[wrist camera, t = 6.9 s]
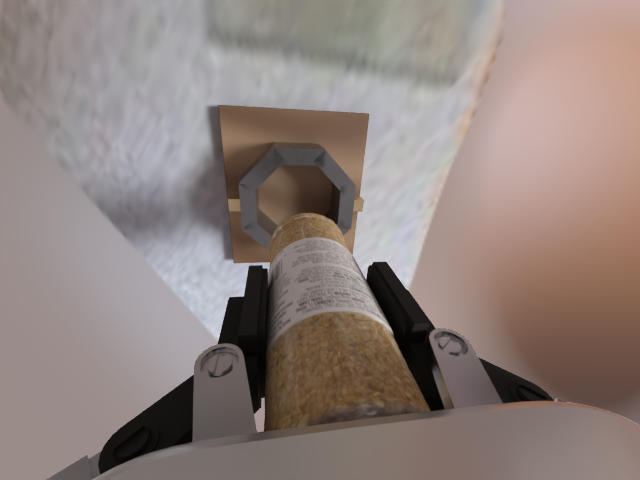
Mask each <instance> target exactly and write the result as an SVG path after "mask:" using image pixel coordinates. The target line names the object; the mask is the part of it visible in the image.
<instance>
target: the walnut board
mask: <svg viewBox="0 0 640 480" xmlns="http://www.w3.org/2000/svg"><path fill="white" fill-rule="evenodd" d="M219 115H220V125H221V135H222V146H223V156H224V167H225V177H226V188H227V198H229V196H230V195H239V182H240V179H241V177H242V175H243V173H244V172H245V171H246V170H247V169H248V168H249V167H250V166H251V165H252V164H253V163H254V162H255V161H256V160H257V159H258V158H259V157H260V156H261V155H262V154H263V153H264V152H265V151H266V150H267V149H268V147H269V146H270V145H271V144H272V143H273V142H291V143H317V144H320V145H321V146H322V147H323V148H324V149H325V150H326V151H327V152H328V153H329V154H330V156H331V157H332V158H333V159H334V160H335V161H336V163H337V164H338V165H339V166H340V167H341V168H342V170H343V171H344V172H345V173H346V174H347V175H348V177H349V178H350V179H351V180H352V181H353V183H354V184H355V185H356V190H355V197H359V196H360V187H361V179H362V171H363V162H364V154H365V146H366V137H367V129H368V121H369V114H365V113H348V112H330V111H313V110H296V109H278V108H261V107H244V106H227V105H219ZM258 191H259V209H260V210H261V211H262V212H263V213H264V214H265V215H267V216H268V217H269V218H270V219H271V220H272V221H273V222H274V223H276V224H277V225H279V224H280V223H282V222H283V221H284V220H286V219H287V218H290V217H292V216H294V215H297V214H301V213H315V214H319V215H322V216H323V215H324V214H326V213H327V212H328V211H329V210H330V207H331V194H332V181H331V180H330V179H329V178H328V177H327V176H326V175H325V173H324V172H323V171H322V170H321V169H320V168H319V167H318V166H299V165H281V166H280V167H279V168H278V169H276V170H275V171H274V172H273V173H272V174H271V175H270V176H269V177H268V178H267V179H266V180H265V181H264V182H263V183H262V184H261V185H260V186H259V187H258ZM228 208H229V205H228ZM357 212H358V211H353V217H352V226H351V229H350V230H349V231H348V232H347V233H346V234H344V235H343V237H344V241H345V244H346V246H347V248H348V250H349V252H350V253H351V254H353V246H354V237H355V229H356V221H357ZM229 219H230V229H231V240H232V250H233V260H234V263H256V262H270V258H269V251H267V250H266V249H265V248H264V247H263V246H261V245H260V244H259V243H258V242H256V241H255V240H254V239H253V238H252V237H250V236H249V235H248V234H247V233H245V232H244V231H243V230H242V223H241V211H229Z"/></svg>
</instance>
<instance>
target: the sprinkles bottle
mask: <svg viewBox="0 0 640 480" xmlns="http://www.w3.org/2000/svg"><path fill="white" fill-rule="evenodd" d="M268 248H269V258H270V269H269V273H268V305H267V331H266V357H265V360H266V368H265V373H266V379H265V381H266V384H265V424H264V426H265V427H264V432H265V431H273V430H281V429H289V428H297V427H305V426H313V425H321V424H329V423H337V422H345V421H353V420H362V419H370V418H378V417H386V416H395V415H403V414H412V413H420V412H429V411H431V410H430V408H429V406H428V404H427V403H426V401H425V399H424V397H423V395H422V393H421V391H420V389H419V386H418V385H417V383H416V381H415V379H414V377H413V376H412V374H411V371H410V370H409V369H408V366H407V363H406V361H405V359H404V358H403V356H402V353H401V352H400V350H399V347H398V345H397V342H396V341H395V339H394V334H393V331H392V329H391V327H390V325H389V323H388V321H387V319H386V317H385V315H384V314H383V312H382V310H381V308H380V306H379V304H378V302H377V300H376V298H375V296H374V294H373V293H372V291H371V289H370V287H369V285H368V283H367V281H366V279H365V278H364V276H363V274H362V272H361V270H360V268H359V266H358V264H357V262H356V260H355V259H354V257H353V255H352V254H351V253H350V252H349V250H348V248H347V246H346V244H345V241H344V237H343V235H342V232H341V231H340V229H339V228H338V227H337V225H336V224H335V223H334V222H333V221H332V220H331V219H329V218H326V217H325V216H322V215H319V214H315V213H301V214H297V215H294V216H292V217H290V218H287V219H286V220H284V221H283V222H282V223H280V224H279V225H278V226H277V227H276V229H275V231H274V232H273V234H272V236H271V239H270V242H269V246H268Z"/></svg>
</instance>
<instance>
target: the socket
mask: <svg viewBox="0 0 640 480" xmlns="http://www.w3.org/2000/svg"><path fill="white" fill-rule="evenodd" d="M281 165H299V166H318V167H319V168H320V169H321V170H322V171H323V172H324V173H325V175H326V176H327V177H328V178H329V179H330V180H331V181H332V194H331V207H330V210H329V211H328V212H327V213H326V214H324V215H323V216H325V217H326V218H329V219H331V220H332V221H333V222H334V223H335V224H336V225H337V227H338V228H339V229H340V231H341V232H342V235H344V234H346V233H347V232H348V231H349V230H350V229H351V226H352V217H353V211H362V209H363V201H364V200H363V199H362V198H361V197H355V190H356V185H355V184H354V183H353V181H352V180H351V179H350V178H349V177H348V175H347V174H346V173H345V172H344V171H343V170H342V168H341V167H340V166H339V165H338V164H337V163H336V161H335V160H334V159H333V158H332V157H331V156H330V154H329V153H328V152H327V151H326V150H325V149H324V148H323V147H322V146H321V145H320V144H317V143H291V142H273V143H272V144H271V145H270V146H269V147H268V149H267V150H266V151H265V152H264V153H263V154H262V155H261V156H260V157H259V158H258V159H257V160H256V161H255V162H254V163H253V164H252V165H251V166H250V167H249V168H248V169H247V170H246V171H245V172H244V173H243V175H242V177H241V179H240V182H239V195H230V196H229V198H228V205H229V211H241V223H242V230H243V231H244V232H245V233H247V234H248V235H249V236H250V237H252V238H253V239H254V240H255V241H256V242H258V243H259V244H260V245H261V246H263V247H264V248H265V249H266V250H267V251H269V248H268V246H269V242H270V239H271V236H272V234H273V232H274V231H275V229H276V227H277V226H278V225H277V224H276V223H274V222H273V221H272V220H271V219H270V218H269V217H268V216H267V215H265V214H264V213H263V212H262V211H261V210H260V209H259V191H258V187H259V186H260V185H261V184H262V183H263V182H264V181H265V180H266V179H267V178H268V177H269V176H270V175H271V174H272V173H273V172H274V171H275V170H276V169H278V168H279V167H280V166H281Z"/></svg>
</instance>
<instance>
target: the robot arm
mask: <svg viewBox="0 0 640 480" xmlns="http://www.w3.org/2000/svg"><path fill="white" fill-rule="evenodd" d="M366 281H367V283H368V285H369V287H370V289H371V291H372V293H373V294H374V296H375V298H376V300H377V302H378V304H379V306H380V308H381V310H382V312H383V314H384V315H385V317H386V319H387V321H388V323H389V325H390V327H391V329H392V331H393V334H394V339H395V341H396V342H397V345H398V347H399V350H400V352H401V353H402V356H403V358H404V359H405V361H406V363H407V366H408V369H409V370H410V371H411V374H412V376H413V377H414V379H415V381H416V383H417V385H418V386H419V389H420V391H421V393H422V395H423V397H424V399H425V401H426V403H427V404H428V406H429V408H430V410H431V411H429V412H420V413H412V414H403V415H395V416H386V417H378V418H370V419H362V420H353V421H345V422H337V423H329V424H321V425H313V426H305V427H297V428H289V429H281V430H273V431H265V432H258V433H257V430H256V425H255V419H254V413H256V412H257V411H258V410H259V408H261V398H263V397H265V384H266V381H265V379H266V373H265V368H266V360H265V357H266V331H267V305H268V270H267V269H263V267H262V265H260V266H249V270H248V276H247V282H246V288H245V294H244V297H230V298H229V300H228V304H227V308H226V312H225V316H224V321H223V325H222V329H221V333H220V337H219V341H218V345H215V346H212V347H210V348H208V349H206V350H205V351H204V352H203V353H201V355H199V357H198V358H197V360H196V362H195V366H194V375H193V376H191V377H190V378H189V379H187V380H186V381H185V382H183V383H182V384H180V385H179V386H178V387H176V388H175V389H174V390H172V391H171V392H169V393H168V394H167V395H165V396H164V397H162V398H161V399H160V400H158V401H157V402H156V403H154V404H153V405H151V406H150V407H149V408H147V409H146V410H145V411H143V412H142V413H141V414H139V415H138V416H136V417H135V418H134V419H132V420H131V421H129V422H128V423H127V424H125V425H124V426H123V427H121V428H120V429H119V430H118V431H117V432H116V433H114V434H113V435H112V436H111V438H110V439H109V440H108V441H107V443H106V444H105V446H104V447H103V450H102V451H101V452H99V453H98V454H96V455H95V456H93V457H91V458H90V459H89V457H88V455H87V456H85V457H83V458H81V459H80V460H78V461H76V462H75V463H73V464H71V465H70V466H68V467H67V468H65V469H63V470H62V471H60V472H58V473H57V474H55V475H53V476H52V477H50V478H48V479H47V480H640V425H639V424H637V423H635V422H633V421H631V420H629V419H627V418H625V417H622V416H620V415H617V414H615V413H612V412H609V411H606V410H603V409H599V408H595V407H591V406H587V405H582V404H576V403H569V402H566V401H563V400H561V399H558V398H557V399H556V400H555V401H554V400H553V399H552V398H551V397H550V396H549V395H548V393H546V392H545V391H544V390H542V389H541V388H540V387H538V386H537V385H535V384H533V383H531V382H529V381H527V380H525V379H523V378H521V377H519V376H517V375H514V374H512V373H510V372H508V371H506V370H504V369H501V368H500V367H497V366H495V365H493V364H491V363H489V362H487V361H485V360H483V359H480V358H478V356H477V354H476V352H475V351H474V349H473V347H472V345H471V344H470V342H469V341H468V340H467V339H466V338H465V337H464V336H462V335H461V334H459V333H457V332H455V331H453V330H449V329H445V328H438V329H435V327H434V326H433V324H432V323H431V321H430V320H429V319H428V317H427V316H426V315H425V313H424V312H423V310H422V309H421V308H420V306H419V305H418V303H417V302H416V301H415V299H414V298H413V297H412V295H411V294H410V292H409V291H408V290H406V289H405V287H404V286H403V285H402V283H401V282H400V280H399V279H398V278H397V276H396V275H395V273H394V272H393V271H392V269H391V268H390V266H389V265H388V264H387V262H373V264H372V265H370V266H369V267H368V273H367V279H366Z"/></svg>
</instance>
